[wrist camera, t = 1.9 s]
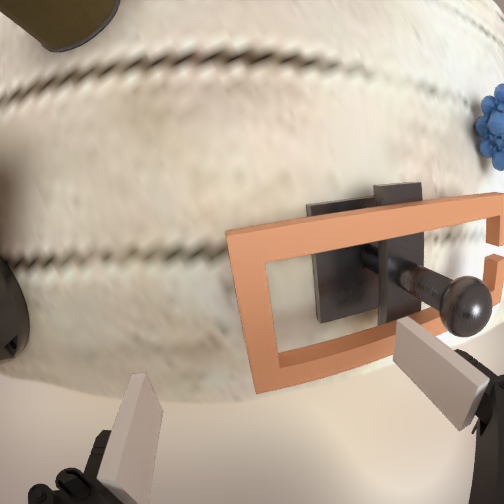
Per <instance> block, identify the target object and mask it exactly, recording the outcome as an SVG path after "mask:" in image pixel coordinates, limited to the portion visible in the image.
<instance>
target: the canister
mask: <svg viewBox="0 0 504 504" xmlns="http://www.w3.org/2000/svg"><path fill="white" fill-rule="evenodd" d="M119 2H120V0H0V12H2V13H3V14H4V15H6V16H7V17H8V18H10V19H11V20H12V21H14V22H15V23H16V24H17V25H19V26H20V27H21V28H23V29H24V30H25V31H26V32H28V33H29V34H30V35H32V36H33V37H34V38H35V39H37V40H38V41H39V42H41V44H42V46H43V47H44V48H45V49H47V50H49V51H54V52H62V51H66V50H69V49H72V48H75V47H77V46H80V45H82V44H83V43H85V42H86V41H88V40H90V39H91V38H93V37H94V36H95V35H96V34H97V33H99V32H100V31H101V30H102V29H103V28H104V27H105V26H106V25H107V24H108V23H109V22H110V20H111V19H112V18H113V16H114V14H115V13H116V11H117V8H118V5H119Z"/></svg>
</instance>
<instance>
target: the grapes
mask: <svg viewBox="0 0 504 504" xmlns="http://www.w3.org/2000/svg"><path fill="white" fill-rule="evenodd" d="M494 97H495V98H494ZM494 97H493V96H486V97H484V99H483V100H482V102H481V110H482V112H483V114H484V115H485V116H482V117H479V118H478V119H477V122H476V125H475V127H476V132H477V133H478V135H479V136H481V137H484V138H483V139H482V140H481V142H480V145H479V147H480V152H481V154H482V155H483V156H484V157H486V158H490V157H492V164H493V166H494V168H495V169H497V170H499V171H503V170H504V84H499V85H498V86H497V87H496V88H495V92H494Z"/></svg>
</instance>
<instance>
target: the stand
mask: <svg viewBox="0 0 504 504" xmlns="http://www.w3.org/2000/svg"><path fill="white" fill-rule="evenodd" d="M373 187H374V196H368V197H360V198H352V199H344V200H337V201H329V202H322V203H315V204H308V205H306V208H307V216H308V217H312V216H318V215H324V214H331V213H337V212H344V211H351V210H358V209H365V208H372V207H379V206H386V205H393V204H400V203H408V202H416V201H423V200H422V186H421V182H404V183H393V184H382V185H373ZM312 263H313V273H314V285H315V297H316V311H317V319H318V320H319V322H320V323H325V322H328V321H332V320H336V319H340V318H344V317H347V316H351V315H354V314H358V313H361V312H365V311H368V310H372V309H375V308H378V326H379V325H382V324H385V323H388V322H391V321H394V320H397V319H400V318H403V317H405V316H408V315H411V314H414V313H416V312H419V311H421V301H423V302H425V303H426V304H428V305H430V306H431V307H433V308H434V309H436V310H438V311H439V314H440V319H441V321H442V324H443V325H444V327H445V328H446V329H447V331H449V332H450V333H451V334H453V335H455V336H458V337H470V336H473V335H475V334H477V333H478V332H480V331H481V330H482V329H483V328H484V327H485V326H486V324H487V323H488V321H489V319H490V316H491V313H492V307H493V303H492V296H491V293H490V290H489V288H488V287H487V285H486V284H485V283H484V282H483V281H481V280H480V279H478V278H476V277H473V276H463V277H459V278H457V279H455V280H452V279H450V278H447V277H445V276H443V275H441V274H439V273H436V272H434V271H432V270H430V269H427V268H425V267H424V232H419V233H414V234H409V235H404V236H400V237H395V238H390V239H385V240H380V241H375V242H370V243H365V244H360V245H355V246H350V247H345V248H340V249H335V250H329V251H324V252H319V253H314V254H312Z"/></svg>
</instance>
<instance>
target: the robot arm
mask: <svg viewBox="0 0 504 504" xmlns="http://www.w3.org/2000/svg"><path fill="white" fill-rule="evenodd" d="M28 335H29V319H28V313H27V308H26V304H25V301H24V298H23V295H22V292H21V290H20V287H19V285H18V283H17V281H16V279H15V277H14V275H13V274H12V272H11V270H10V269H9V267H8V266H7V265H6V263H5V262H4V261H3V260H2V258H1V257H0V365H1V364H4V363H6V362H9V361H11V360H12V359H14V358H15V357H16V356H17V355H18V354H19V353H20V352H21V351H22V350H23V349H24V347H25V345H26V343H27V340H28ZM393 361H394V362H395V363H396V365H397V366H398V367H399V368H400V369H401V370H402V371H403V372H404V373H405V374H406V375H407V376H408V377H409V378H410V379H411V380H412V381H413V382H414V383H415V384H416V385H417V387H418V388H419V389H420V390H421V391H422V392H423V393H424V394H425V395H426V396H427V397H428V398H429V399H430V400H431V401H432V402H433V403H434V405H436V407H437V408H438V409H439V410H440V411H441V412H442V413H443V414H444V415H445V416H446V418H447V419H448V420H449V421H450V422H451V423H452V424H453V425H454V426H455V427H456V428H457V430H458V431H461V430H462V429H464V428H465V427H467V426H468V425H470V424H471V422H472V420H473V418H474V416H475V415H476V416H477V417H478V420H477V422H476V424H475V426H474V428H473V430H472V434H474V432H475V430H476V429H477V433H476V451H475V463H474V472H473V480H472V487H471V493H470V499H469V504H504V375H500V376H497V375H496V374H494V373H493V372H492V371H490V370H489V369H488V368H486V367H485V366H484V365H483V364H481V363H480V362H478V361H477V360H476V359H475V358H474V359H473V357H472V356H471V355H469V354H468V353H466V352H464V351H462V350H459V349H456V350H452V349H451V348H450V347H448V346H447V345H446V344H444V343H443V342H442V341H441V340H439V339H438V338H437V337H435V336H434V335H433V334H431V333H430V332H429V331H427V330H426V329H424V328H423V327H422V326H420V325H419V324H418V323H416V322H415V321H414V320H412V319H411V318H410V317H408V316H407V317H404V318H401V319H398V320H397V323H396V335H395V346H394V355H393ZM162 416H163V410H162V407H161V405H160V403H159V401H158V399H157V397H156V394H155V392H154V390H153V388H152V385H151V383H150V381H149V378H148V376H147V373H135V374H132V376H131V379H130V381H129V384H128V387H127V389H126V392H125V395H124V397H123V400H122V403H121V406H120V408H119V412H118V414H117V417H116V420H115V423H114V425H113V428H112V430H103V431H102V432H101V433H100V434H99V435H98V436H97V437H96V440H95V442H94V445H93V448H92V450H91V455H90V456H89V459H88V462H87V465H86V467H85V471H84V473H82V472H81V471H80V470H78V469H76V468H67V469H64V470H62V471H61V472H60V473H59V474H58V475H57V477H56V480H55V483H56V487H57V488H58V489H59V490H55V491H52V490H51V489H50V488H49V487H48V486H47V485H45V484H36V485H34V486H33V487H32V488H31V489H30V490H29V492H28V504H149V502H150V494H151V486H152V479H153V471H154V464H155V458H156V451H157V445H158V439H159V433H160V426H161V421H162Z"/></svg>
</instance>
